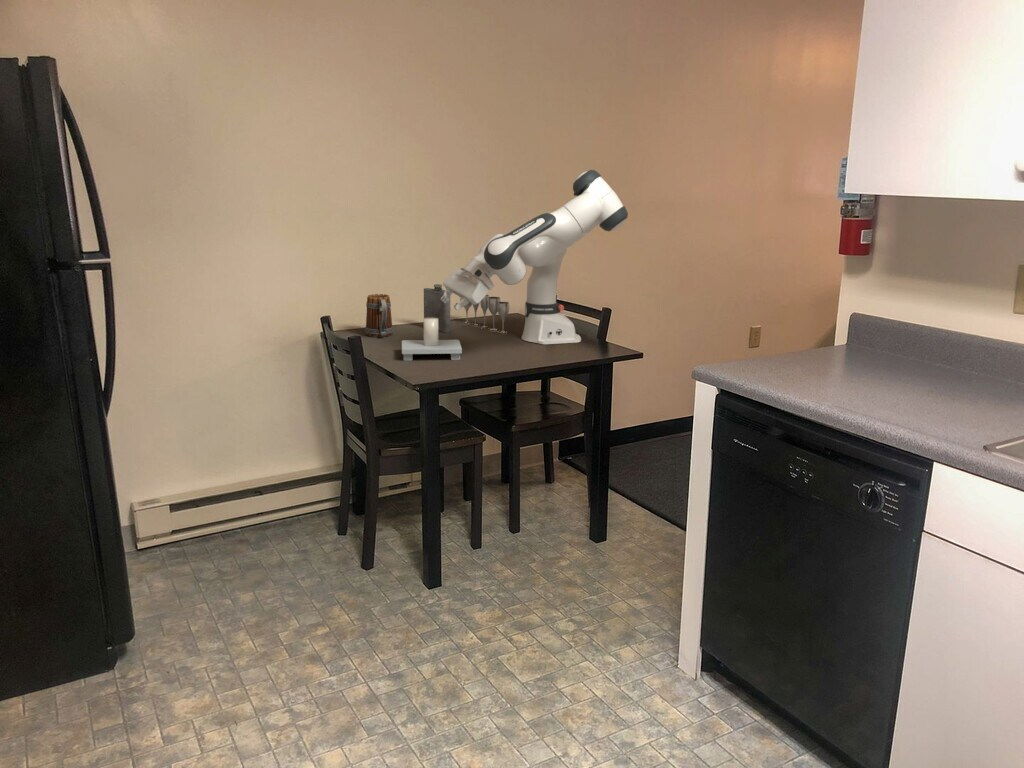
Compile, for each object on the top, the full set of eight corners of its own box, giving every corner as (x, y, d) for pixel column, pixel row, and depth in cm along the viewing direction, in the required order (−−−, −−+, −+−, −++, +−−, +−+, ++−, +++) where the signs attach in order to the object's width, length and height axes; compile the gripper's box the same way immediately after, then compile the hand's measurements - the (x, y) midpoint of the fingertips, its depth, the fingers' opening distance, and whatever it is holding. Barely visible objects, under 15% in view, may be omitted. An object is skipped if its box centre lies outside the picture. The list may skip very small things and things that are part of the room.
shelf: (459, 350, 286) (459, 339, 285) (461, 360, 273) (461, 349, 271) (402, 351, 283) (401, 340, 282) (402, 361, 270) (401, 349, 269)
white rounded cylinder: (438, 342, 279) (437, 317, 277) (438, 346, 275) (438, 320, 272) (423, 343, 279) (423, 317, 276) (424, 346, 274) (423, 320, 272)
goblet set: (512, 332, 316) (513, 299, 313) (501, 334, 313) (501, 300, 309) (468, 321, 336) (468, 289, 333) (457, 322, 333) (457, 290, 329)
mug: (362, 332, 311) (361, 294, 307) (389, 331, 315) (389, 292, 311) (371, 341, 297) (369, 301, 293) (399, 339, 301) (398, 299, 297)
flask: (429, 326, 324) (429, 281, 319) (453, 332, 315) (453, 286, 310) (422, 327, 322) (422, 282, 317) (446, 333, 312) (446, 287, 307)
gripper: (455, 260, 276) (429, 290, 275) (485, 275, 260) (457, 307, 259) (466, 272, 280) (440, 302, 279) (496, 287, 264) (469, 319, 263)
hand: (449, 305), depth 269 cm, fingers open, 8 cm apart
